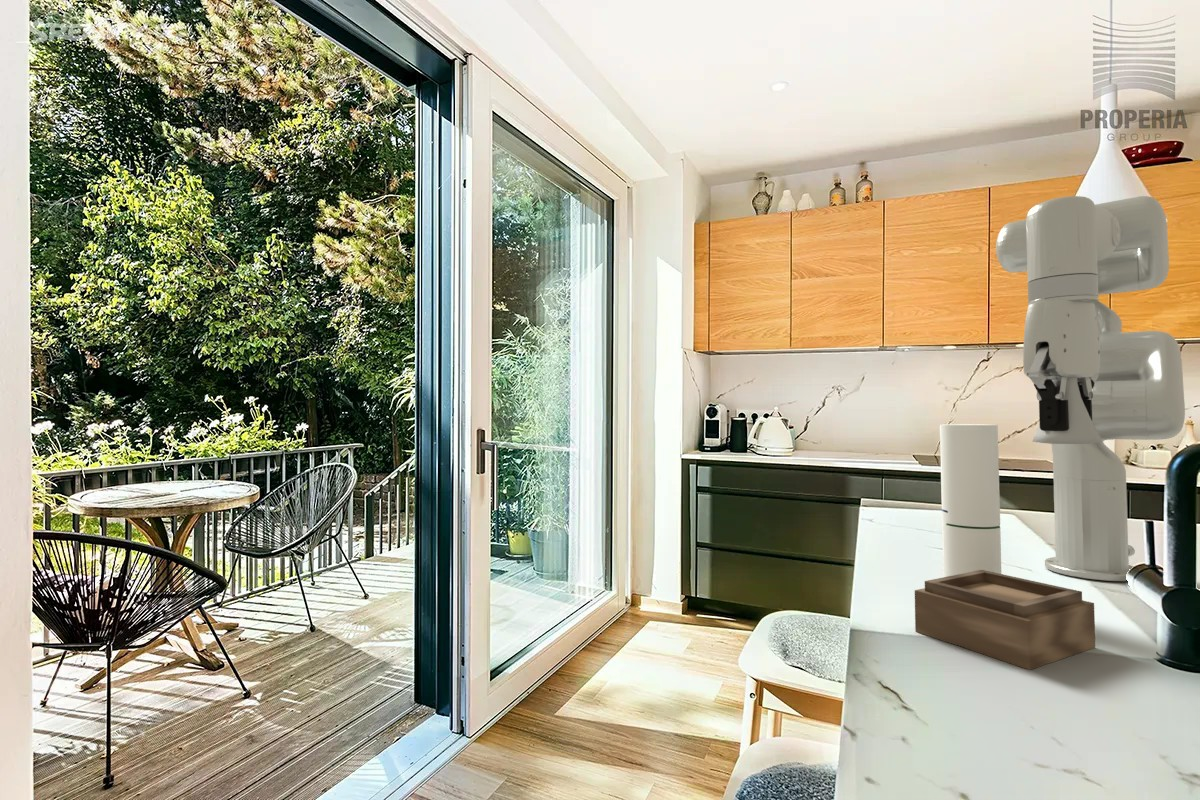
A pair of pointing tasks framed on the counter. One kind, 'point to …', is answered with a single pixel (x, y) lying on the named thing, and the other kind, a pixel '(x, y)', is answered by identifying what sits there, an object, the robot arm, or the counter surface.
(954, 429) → the cylindrical container
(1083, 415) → the flask
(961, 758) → the counter surface
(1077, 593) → the tray
